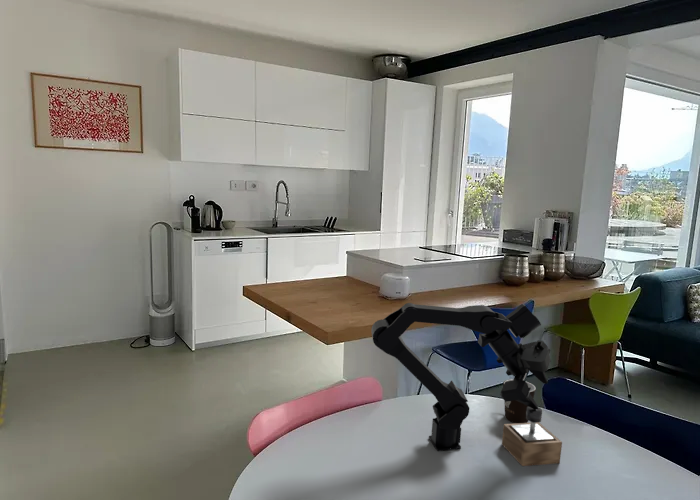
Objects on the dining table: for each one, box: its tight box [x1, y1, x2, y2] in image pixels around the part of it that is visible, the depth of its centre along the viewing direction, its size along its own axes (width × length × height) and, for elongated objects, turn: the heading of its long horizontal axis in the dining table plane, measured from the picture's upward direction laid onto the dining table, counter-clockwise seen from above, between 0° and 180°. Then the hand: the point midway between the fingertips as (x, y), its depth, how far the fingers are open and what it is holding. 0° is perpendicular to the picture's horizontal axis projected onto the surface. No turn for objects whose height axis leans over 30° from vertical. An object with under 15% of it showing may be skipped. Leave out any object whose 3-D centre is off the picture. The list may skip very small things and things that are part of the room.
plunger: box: [511, 406, 554, 443], centre depth 124 cm, size 7×7×7 cm
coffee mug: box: [502, 378, 537, 424], centre depth 144 cm, size 12×9×10 cm
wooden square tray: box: [501, 422, 563, 467], centre depth 125 cm, size 10×10×6 cm
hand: (541, 395), depth 126 cm, fingers open, 9 cm apart
